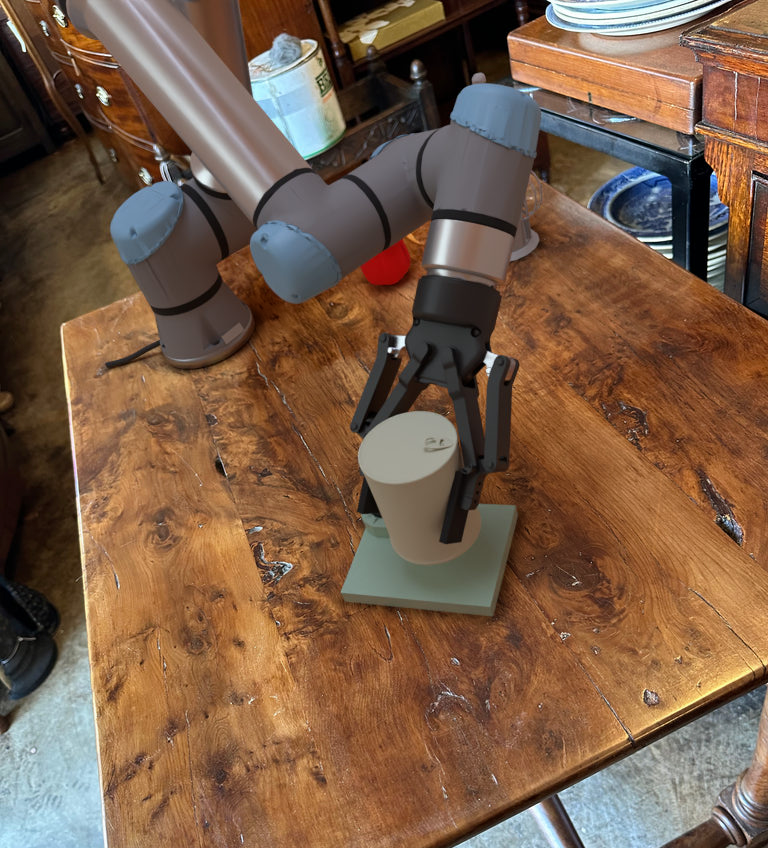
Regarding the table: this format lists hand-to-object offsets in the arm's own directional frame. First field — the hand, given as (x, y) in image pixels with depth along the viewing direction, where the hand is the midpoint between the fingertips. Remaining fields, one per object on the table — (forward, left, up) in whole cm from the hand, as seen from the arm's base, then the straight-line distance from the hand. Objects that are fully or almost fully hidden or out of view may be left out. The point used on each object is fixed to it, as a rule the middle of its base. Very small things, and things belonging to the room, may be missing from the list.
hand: (407, 526), depth 74 cm
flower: (-22, +57, -10) cm, 62 cm away
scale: (-1, +4, -10) cm, 11 cm away
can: (+1, +3, -4) cm, 5 cm away
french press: (-4, +64, -10) cm, 65 cm away
